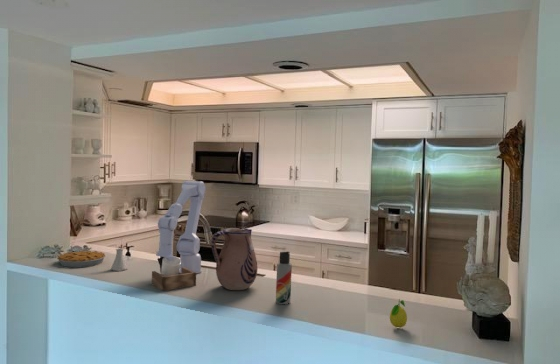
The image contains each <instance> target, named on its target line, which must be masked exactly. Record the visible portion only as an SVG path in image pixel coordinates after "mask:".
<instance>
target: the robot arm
mask: <svg viewBox="0 0 560 364" xmlns="http://www.w3.org/2000/svg"><path fill="white" fill-rule="evenodd" d="M206 189H207V188H206V185H205V183H204V181H201V180H200V181H196V180H192V181H191V180H185V181H183V183H182V184H181V192H180V194H179V196H178V197H177V199H176V202H175V203H172V204H171V205H170V207H169V208H168V210H167V211H166V213H165V215H164V216H161V217H160V218H159V220H158V222H157V227H158V233H159V246H158V250H157V251H156V253H155V256H157V257H158V258H157V262H158V264H159V269H160V270H159V271H160V272H159V273H161V268H162V261H163V258H164V257H165V258H167V259H168V260H169V261H174V257H175V256H174V255H173V247H174V245H173V243H174V231H175V229H177V226H178V221H179V220H178V219H179V218H180V216H181V214H182V212H183V206H184V205H185V204H186V203H187V201H188V200H190V205H189V210H188V214H187V215H188V216H187V220H186V223H185V224H186V225H185V230H184V233H182V234H181V235H180V236H179V239H178V241H177V243H176V251H177V252H178V255H180V257H179V259H180V260H181V265H180V269H179V273H178V274H181V269H182V267H185V268H187V269H189V270H191V271H194V272H196V274H200V273H202V271H201V269H202V257H201V254H200V253H199V251H200V248H201V245H200V242H201V239H200V238H199V237H198V235H197V230H198V223H199V219H200V214H201V208H202V204H203V200H204V199H205V195H206Z"/></svg>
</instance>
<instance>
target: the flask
mask: <svg viewBox="0 0 560 364" xmlns="http://www.w3.org/2000/svg"><path fill="white" fill-rule="evenodd" d="M115 251H116V254H115V257H114V258H115V259H114V260H113V263H112V266H111V267H110V270H111V271H115V272H121V271H125V270H128V266H127V264H126V262H125V261H126V260H125V257H124V254H123V251H124V248H116V249H115Z"/></svg>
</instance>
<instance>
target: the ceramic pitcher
mask: <svg viewBox="0 0 560 364" xmlns="http://www.w3.org/2000/svg"><path fill="white" fill-rule="evenodd" d="M252 231H253V230H252V229H251V228H250V229H249V228H244V229H243V228H242V229H241V228H239V227H230V228H224V229H223V230H220V231H217V232H215V233H214V234H213V236H212V238H211V240H210V241H211V242H210V244H211V245H210V246H211V250H212V254H213V257H214V260H215V263H216V264H215V265H216V266H215V273H216V278H217V281H218V282H219V284H220V285H221V286H222V287H223V288H225V289H227V290H231V291H243V290H244V291H245V290H247V289H248V288H249V287H251V286H252V285H253V283H254V282H255V280H256V278H257V276H258V262H257V256H256V252H255V248H254V244H253V241H252ZM221 236H223V237H224V242H223V245H222V248H221V250H220V252H219V253H218V251H217V246H216V243H217V240H218V239H219V238H220V237H221Z"/></svg>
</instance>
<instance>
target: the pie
mask: <svg viewBox="0 0 560 364" xmlns="http://www.w3.org/2000/svg"><path fill="white" fill-rule="evenodd" d="M105 258H106V254H105V253H104V252H100V251H99V252H98V251H97V250H95V251H91V250H86V251H85V250H81V251H71V252H69V253H68V252H66V253H63V254H60V255H58V256H57V260H58V261H59V263H60V264H61V266H63V267H71V268H86V267H93V266H98V265H100V264H101V263H103V261H104V259H105Z"/></svg>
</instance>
